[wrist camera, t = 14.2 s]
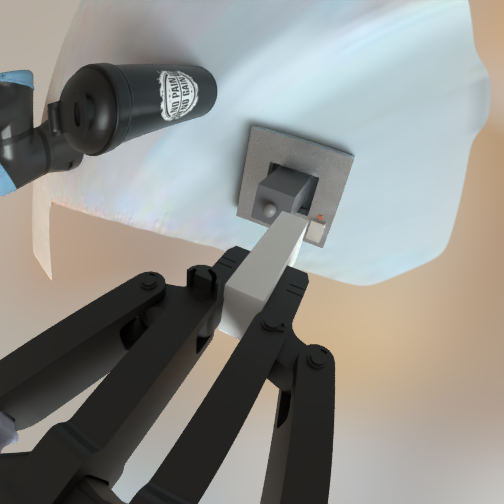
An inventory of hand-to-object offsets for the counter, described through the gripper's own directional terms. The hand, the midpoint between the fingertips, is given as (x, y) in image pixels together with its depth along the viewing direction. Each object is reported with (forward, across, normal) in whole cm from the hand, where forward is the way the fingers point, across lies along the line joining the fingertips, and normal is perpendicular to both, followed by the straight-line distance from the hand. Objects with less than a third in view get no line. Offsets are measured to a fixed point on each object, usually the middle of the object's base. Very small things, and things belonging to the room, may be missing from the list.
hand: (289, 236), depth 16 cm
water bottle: (+25, -23, +3) cm, 34 cm away
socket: (+24, -5, -7) cm, 26 cm away
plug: (+24, -5, -7) cm, 26 cm away
